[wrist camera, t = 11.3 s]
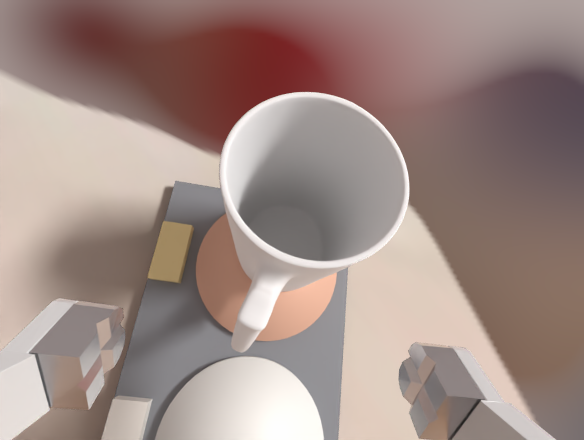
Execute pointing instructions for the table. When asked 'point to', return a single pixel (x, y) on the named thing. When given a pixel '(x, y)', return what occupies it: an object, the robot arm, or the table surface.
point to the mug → (306, 196)
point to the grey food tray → (225, 343)
